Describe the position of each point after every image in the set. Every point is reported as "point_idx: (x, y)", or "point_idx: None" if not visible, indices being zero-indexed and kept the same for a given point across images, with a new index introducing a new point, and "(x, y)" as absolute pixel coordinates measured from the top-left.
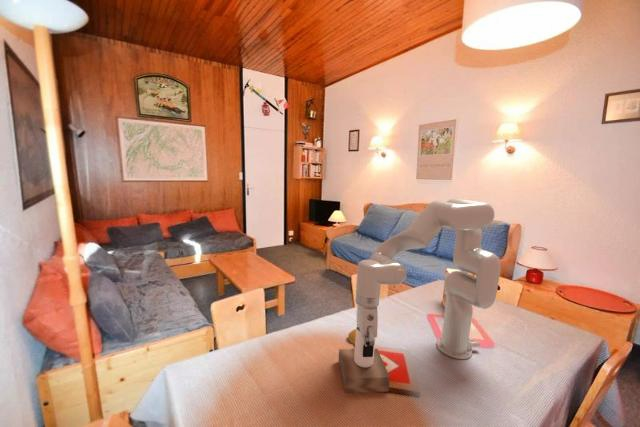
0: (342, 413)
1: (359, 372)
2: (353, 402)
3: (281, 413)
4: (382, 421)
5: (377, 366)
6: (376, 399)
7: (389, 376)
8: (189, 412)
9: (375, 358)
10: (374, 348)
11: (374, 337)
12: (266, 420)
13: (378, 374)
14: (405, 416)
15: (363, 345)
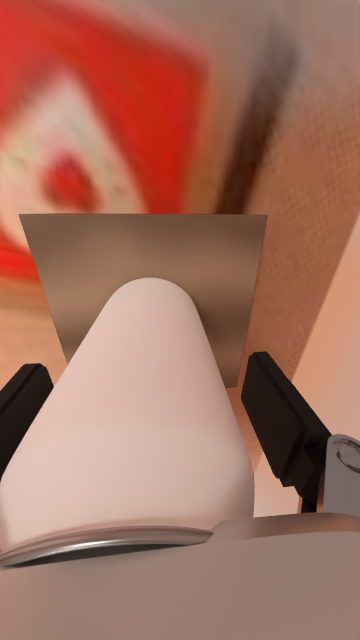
0: (279, 363)
1: (215, 344)
2: (256, 337)
3: (249, 448)
4: (334, 274)
5: (185, 260)
6: (261, 271)
7: (261, 215)
8: None
9: (122, 254)
10: (173, 318)
11: (222, 431)
12: (257, 461)
13: (238, 270)
14: (351, 187)
15: (288, 481)
